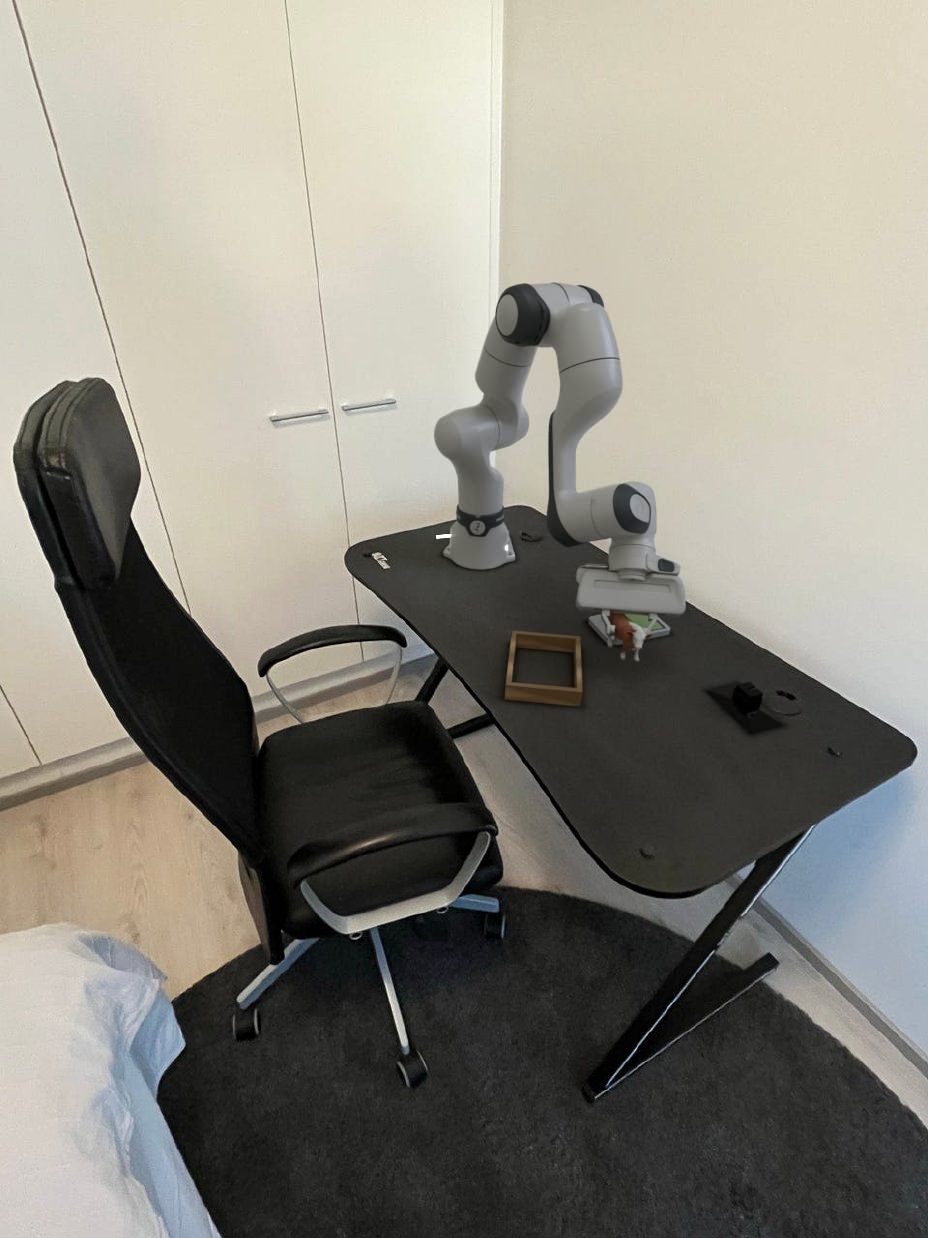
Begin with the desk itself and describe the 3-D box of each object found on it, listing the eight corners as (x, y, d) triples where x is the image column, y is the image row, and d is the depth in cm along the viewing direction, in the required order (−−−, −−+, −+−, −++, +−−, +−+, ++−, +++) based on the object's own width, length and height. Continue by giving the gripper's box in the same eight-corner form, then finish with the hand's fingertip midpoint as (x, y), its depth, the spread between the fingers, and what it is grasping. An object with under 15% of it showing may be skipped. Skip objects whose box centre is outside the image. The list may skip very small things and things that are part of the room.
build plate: (782, 726, 115) (790, 706, 112) (749, 735, 113) (756, 715, 110) (737, 684, 124) (743, 665, 122) (705, 691, 122) (711, 672, 120)
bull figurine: (628, 674, 118) (636, 637, 114) (597, 636, 129) (603, 601, 125) (650, 672, 119) (658, 634, 115) (617, 634, 130) (624, 599, 126)
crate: (511, 644, 135) (512, 630, 133) (578, 650, 133) (580, 636, 131) (504, 699, 120) (505, 685, 118) (580, 706, 118) (582, 692, 116)
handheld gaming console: (587, 615, 141) (646, 604, 146) (586, 621, 142) (645, 610, 147) (610, 640, 134) (672, 628, 138) (609, 646, 134) (670, 634, 139)
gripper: (578, 557, 122) (573, 628, 119) (689, 565, 120) (687, 637, 117) (575, 567, 128) (571, 635, 125) (680, 574, 126) (678, 643, 123)
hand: (628, 636), depth 121 cm, fingers closed on bull figurine, 5 cm apart
